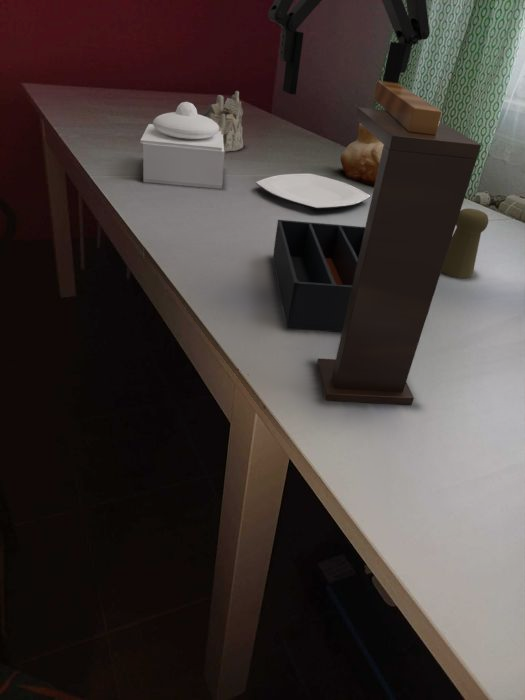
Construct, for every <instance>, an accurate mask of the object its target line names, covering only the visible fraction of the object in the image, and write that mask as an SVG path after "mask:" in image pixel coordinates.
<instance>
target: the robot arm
mask: <svg viewBox="0 0 525 700" xmlns="http://www.w3.org/2000/svg"><path fill="white" fill-rule="evenodd" d="M322 1H323V0H298V1H297V2H296V3H295V5H294V6H293V7H292V8H291V6H292V5H293V3H294V2H295V0H274V1H273V3H272V4H271V7H270V8H269V10H268V13H267V18H268V19H269V21H271V22H274V23H275V24H277V25H278V26H280V29H281V37H280V38H281V39H280V48H279V60H280V61H282V62H285V66H284V67H285V69H284V75H283V76H284V77H283V86H282V91H283V92H285V93H287V94H289V95H297V88H298V80H299V73H300V63H301V56H302V48H303V40H304V32H302V31H298V28H299V27H300V26H301V25H302V24H303V23H304V21H305V20H306V19H307V18H308V17H309V16H310V14H311V13H312V12H313V11H314V10H315V9H316V8H317V7H318V5H319V4H320V3H321V2H322ZM381 2H382V5H383V7H384V9H385V12H386V14H387V17H388V19H389V21H390V25H391V27H392V29H393V32H394V34H395V37H396V39H397V42H395V41H390V43H389V48H388V54H387V58H386V63H385V68H384V72H383V78H382V81H385V82H393V83H398V84H399V82H400V77H401V73H403V74H405V73H406V72H407V69H408V64H409V60H410V56H411V52H412V48H413V46H414V45H417V44H418V43H419V41H422V40H427V39H428V38H429V37H430V34H431V30H430V24H429V15H428V14H429V13H428V7H427V0H405V2H406V3H404V2H403V0H381ZM405 4H406V6H405ZM290 8H291V9H290Z"/></svg>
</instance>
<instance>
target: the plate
mask: <svg viewBox="0 0 525 700" xmlns="http://www.w3.org/2000/svg"><path fill="white" fill-rule="evenodd" d="M255 184H256V185H257V186H259V187H260V188H261V189H262V190H264V191H266V192H268V193H269V194H271V195H273V196H275V197H277V198H279V199H281V200H282V201H285V202H287V203H290V204H293V205H296V206H299V207H301V208H305V209H309V210H312V211H321V210H333V209H338V208H344V207H351V206H354V205H358V204H360V203H362V202H364V201H367V200H368V199H370V198H371V195H369V194H368V193H366V192H365V191H363V190H361V189H359V188H358V187H355V186H353V185H350V184H349V183H346V182H344V181H343V182H342V181H341V180H337V179H333V178H330V177H326V176H322V175H318V174H314V173H287V174H286V173H285V174H278V175H272V176H269V177H265V178H263V179H260V180H257V181H255Z"/></svg>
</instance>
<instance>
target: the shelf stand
mask: <svg viewBox="0 0 525 700" xmlns="http://www.w3.org/2000/svg"><path fill="white" fill-rule="evenodd" d="M355 121H357V122H358V123H359V124H361V125H363V126H364V127H365V128H366V129H367V130H368V131H369V132H370V133H371V134H373V135H374V136H375V137H376V138H377V139H378V140H379V141H380V142H381V143H382V144H384V146H383V150H382V154H381V159H380V163H379V168H378V172H377V177H376V181H375V186H373V191H372V194H371V200H370V205H369V208H368V213H367V218H366V221H365V226H364V227H365V231H364V235H363V240H362V244H361V249H360V253H359V258H358V262H357V267H356V271H355V276H354V280H353V285H352V289H351V293H350V298H349V302H348V307H347V311H346V316H345V320H344V325H343V329H342V332H341V335H340V339H339V344H338V347H337V353H336V357H335V358H317V361H316V368H317V372H318V376H319V379H320V383H321V388H322V392H323V395H324V399H325V401H327V402H345V403H346V402H350V403H371V404H388V405H390V404H391V405H413V402H414V401H415V400H414V399H415V396H414V395H413V392H412V391H411V389H410V387H409V384H408V383H407V381H408V377H409V374H410V371H411V368H412V365H413V361H414V359H415V355H416V352H417V349H418V346H419V342H420V339H421V337H422V334H423V330H424V327H425V323H426V321H427V318H428V314H429V312H430V308H431V306H432V305H431V304H432V301H433V298H434V295H435V292H436V289H437V286H438V283H439V280H440V276H441V273H442V272H441V270H442V267H443V264H444V261H445V258H446V255H447V251H448V248H449V245H450V242H451V239H452V236H453V234H454V232H455V230H456V227H457V226H456V223H457V220H458V217H459V214H460V211H461V210H462V207H463V204H464V200H465V197H466V195H467V191H468V188H469V185H470V181H471V178H472V175H473V173H474V170H475V166H476V162H477V160H478V157H479V153H480V151H481V148H482V144H481V143H479V142H477V141H476V140H473V139H472V138H470V137H469V136H467V135H465V134H463V133H462V132H460V131H458V130H456V129H455V128H453V127H451V126H449V125H447V124H445V123H443V122H442V121H440V122H439V126H438V130H437V133H436V135H429V134H421V133H413V132H409V131H408V130H407V129H405V128H404V127H403V126H402V125H401V124H400V123H399V122H398V121H397V120H396V119H395V118H394V117H393V116H392V115H391V114H390V113H389V112H387V111H386V110H385V109H377V108H368V107H360V106H357V109H356V113H355Z"/></svg>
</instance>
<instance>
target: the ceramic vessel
mask: <svg viewBox="0 0 525 700" xmlns="http://www.w3.org/2000/svg"><path fill="white" fill-rule="evenodd" d="M383 146H384V144H382V143H381V142H380V141H379V140H378V139H377V138H376V137H375V136H374V135H373V134H371V133H370V132H369V131H368V130H367V129H366V128H365V127H364V126H363V125H361V124H360V123H359V124H358V135H357V139H356V140H354V141H353V142H351V143H349V144H348V145H347V146H346V148H344V150H342V153H341V155H340V163H341V167H342V172H343V174H345V176H346V177H347V178H348V179H350V180H353V181H356V182H360V183H362V184H365V185H366V184H367V185H370V186H373V187H374V186H375V181H376V177H377V172H378V168H379V163H380V159H381V154H382V150H383Z"/></svg>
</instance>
